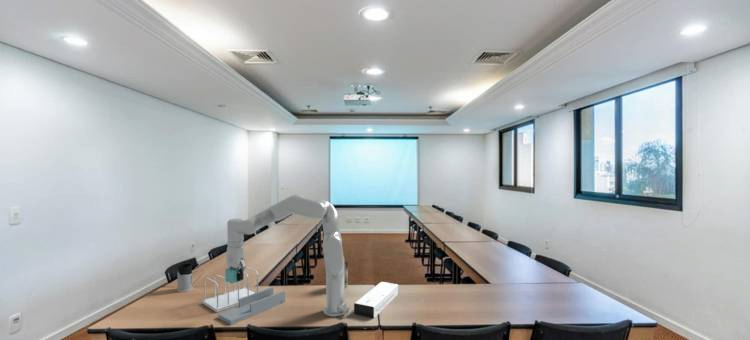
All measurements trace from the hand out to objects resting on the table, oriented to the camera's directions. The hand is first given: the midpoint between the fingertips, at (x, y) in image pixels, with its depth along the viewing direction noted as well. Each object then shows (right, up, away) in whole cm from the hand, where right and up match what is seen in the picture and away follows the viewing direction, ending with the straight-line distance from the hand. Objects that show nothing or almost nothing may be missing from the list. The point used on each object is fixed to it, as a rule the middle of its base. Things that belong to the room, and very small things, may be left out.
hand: (236, 278), depth 166 cm
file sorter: (-11, -19, +20) cm, 30 cm away
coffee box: (+48, -19, +38) cm, 64 cm away
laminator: (+71, -19, +15) cm, 76 cm away
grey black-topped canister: (-45, -19, +38) cm, 61 cm away
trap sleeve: (+6, -19, +8) cm, 22 cm away
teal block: (-1, -1, -1) cm, 1 cm away
